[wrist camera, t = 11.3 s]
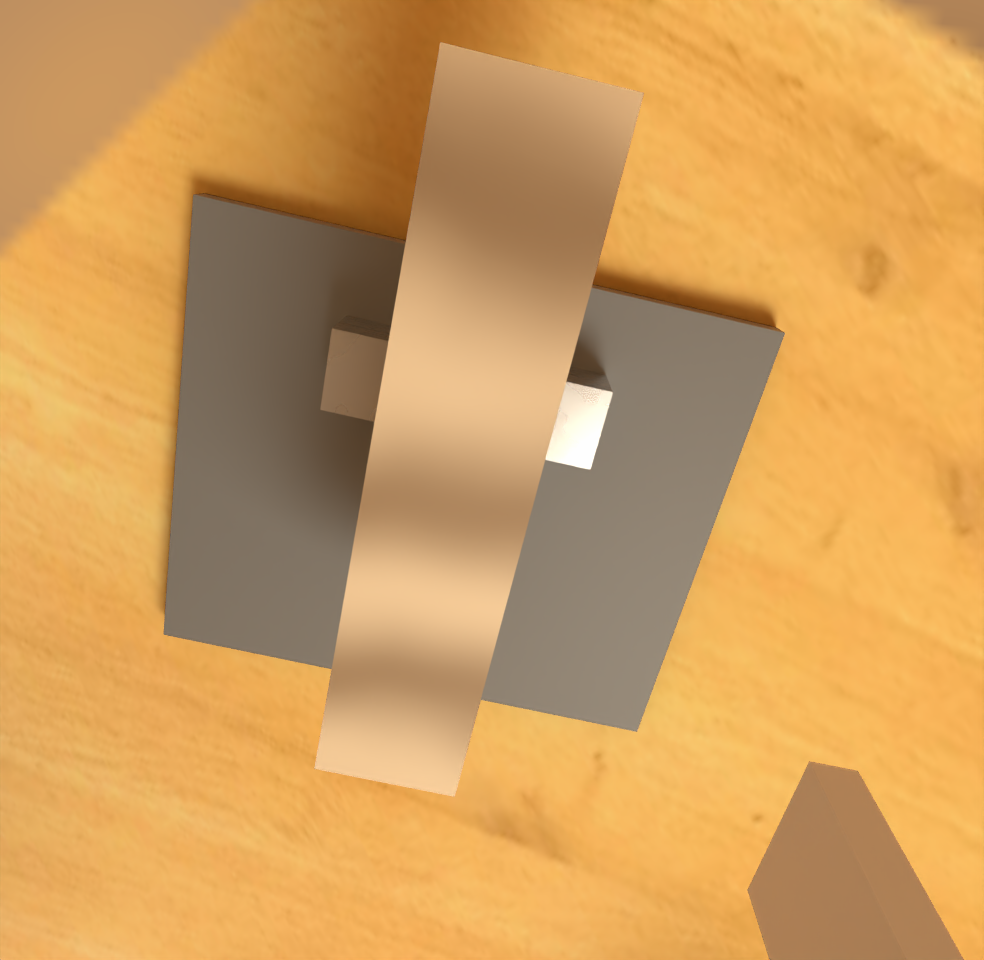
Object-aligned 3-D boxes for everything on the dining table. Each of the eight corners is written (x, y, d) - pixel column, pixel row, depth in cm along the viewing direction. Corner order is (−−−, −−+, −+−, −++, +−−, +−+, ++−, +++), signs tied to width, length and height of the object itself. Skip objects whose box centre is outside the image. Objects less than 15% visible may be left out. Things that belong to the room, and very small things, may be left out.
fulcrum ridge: (335, 390, 30) (297, 437, 25) (347, 315, 29) (309, 347, 24) (585, 446, 30) (597, 503, 25) (605, 374, 29) (623, 418, 24)
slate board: (173, 622, 35) (163, 634, 35) (204, 193, 28) (193, 194, 27) (633, 717, 37) (636, 731, 36) (776, 327, 29) (785, 332, 28)
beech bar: (458, 69, 21) (440, 42, 16) (617, 108, 21) (643, 93, 16) (348, 669, 28) (314, 768, 24) (465, 693, 28) (454, 796, 24)
